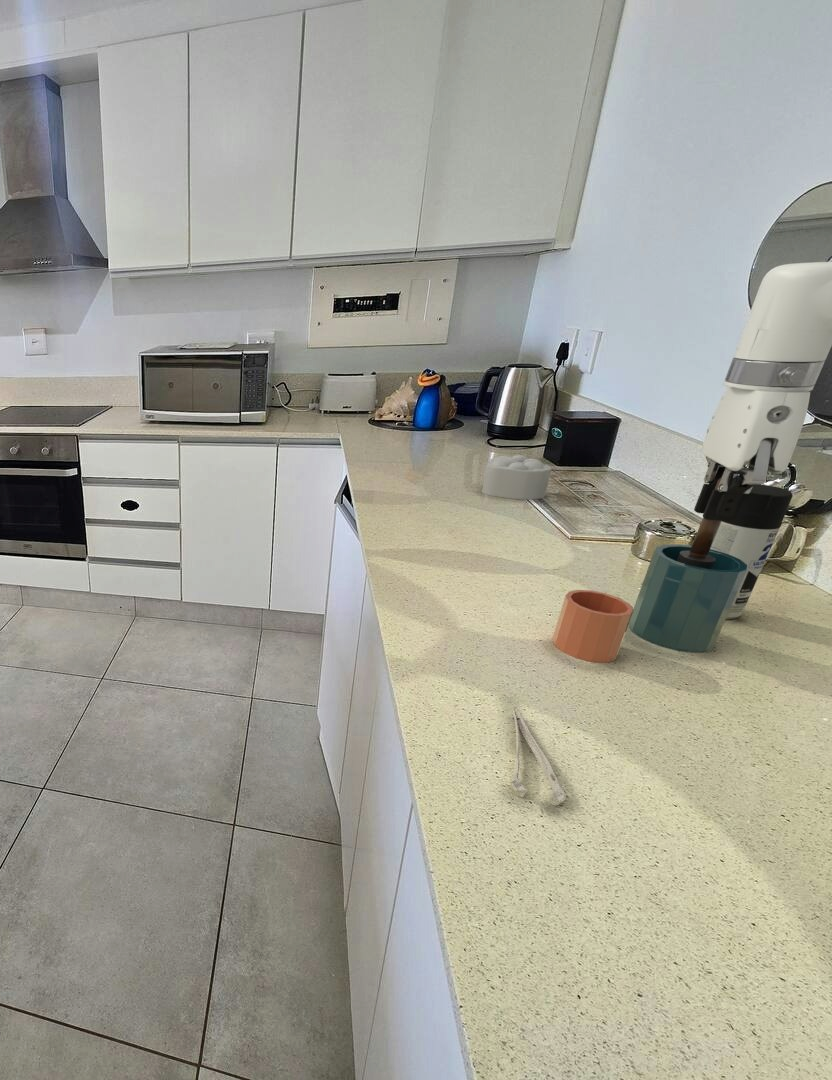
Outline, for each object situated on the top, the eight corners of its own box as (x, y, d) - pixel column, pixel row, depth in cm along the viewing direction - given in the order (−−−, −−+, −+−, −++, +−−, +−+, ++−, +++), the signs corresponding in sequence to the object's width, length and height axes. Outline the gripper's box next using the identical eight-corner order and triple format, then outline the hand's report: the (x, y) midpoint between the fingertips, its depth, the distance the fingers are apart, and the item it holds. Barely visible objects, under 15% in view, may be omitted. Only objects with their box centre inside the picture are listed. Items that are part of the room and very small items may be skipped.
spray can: (738, 625, 86) (795, 499, 79) (677, 609, 91) (725, 489, 83) (742, 609, 90) (797, 488, 83) (684, 594, 95) (730, 478, 87)
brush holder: (605, 642, 84) (622, 594, 81) (623, 670, 78) (641, 619, 75) (546, 633, 87) (560, 586, 84) (558, 660, 81) (574, 610, 77)
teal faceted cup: (694, 627, 86) (727, 548, 81) (724, 661, 79) (762, 576, 74) (618, 617, 90) (644, 541, 85) (639, 648, 82) (670, 566, 77)
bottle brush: (690, 596, 83) (741, 473, 76) (701, 608, 80) (755, 481, 73) (658, 592, 84) (705, 471, 77) (668, 603, 81) (718, 479, 74)
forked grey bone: (565, 809, 58) (570, 793, 57) (509, 795, 60) (513, 779, 59) (531, 711, 73) (534, 698, 72) (487, 703, 75) (490, 690, 74)
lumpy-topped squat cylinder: (484, 483, 151) (491, 451, 148) (544, 490, 144) (553, 456, 141) (480, 494, 143) (488, 460, 140) (544, 502, 136) (553, 467, 133)
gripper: (859, 385, 62) (786, 542, 69) (776, 367, 75) (722, 500, 82) (764, 384, 64) (704, 534, 72) (700, 366, 78) (655, 495, 85)
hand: (714, 515), depth 77 cm, fingers closed on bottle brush
